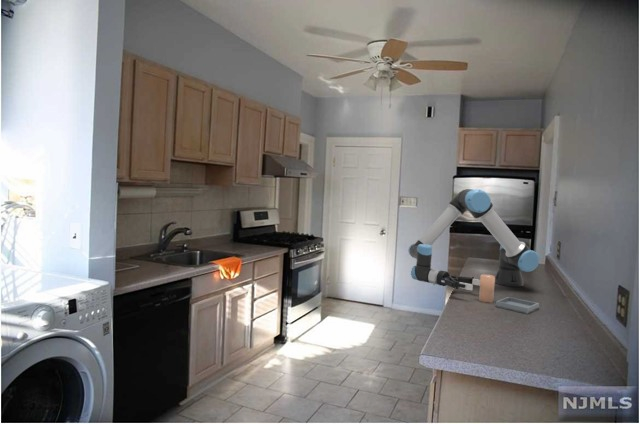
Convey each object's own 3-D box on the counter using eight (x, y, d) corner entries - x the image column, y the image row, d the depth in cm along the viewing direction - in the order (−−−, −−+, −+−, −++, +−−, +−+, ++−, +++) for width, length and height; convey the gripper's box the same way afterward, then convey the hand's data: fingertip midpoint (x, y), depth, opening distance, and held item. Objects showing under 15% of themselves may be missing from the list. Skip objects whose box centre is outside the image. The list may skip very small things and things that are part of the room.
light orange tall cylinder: (482, 298, 215) (484, 273, 214) (495, 301, 211) (497, 276, 210) (476, 300, 210) (478, 275, 210) (489, 303, 206) (491, 277, 205)
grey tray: (507, 301, 210) (508, 296, 210) (538, 308, 200) (539, 303, 200) (495, 306, 200) (495, 301, 200) (527, 314, 191) (527, 308, 190)
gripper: (451, 281, 236) (489, 289, 221) (425, 287, 219) (465, 297, 204) (452, 267, 236) (490, 275, 221) (426, 272, 218) (467, 281, 203)
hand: (479, 285), depth 212 cm, fingers open, 13 cm apart
